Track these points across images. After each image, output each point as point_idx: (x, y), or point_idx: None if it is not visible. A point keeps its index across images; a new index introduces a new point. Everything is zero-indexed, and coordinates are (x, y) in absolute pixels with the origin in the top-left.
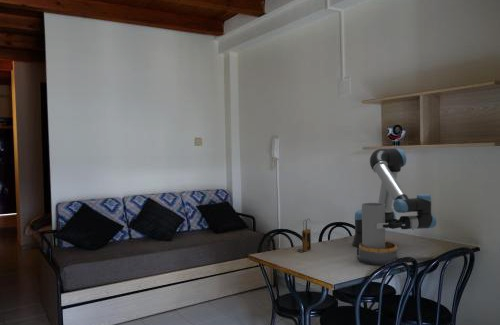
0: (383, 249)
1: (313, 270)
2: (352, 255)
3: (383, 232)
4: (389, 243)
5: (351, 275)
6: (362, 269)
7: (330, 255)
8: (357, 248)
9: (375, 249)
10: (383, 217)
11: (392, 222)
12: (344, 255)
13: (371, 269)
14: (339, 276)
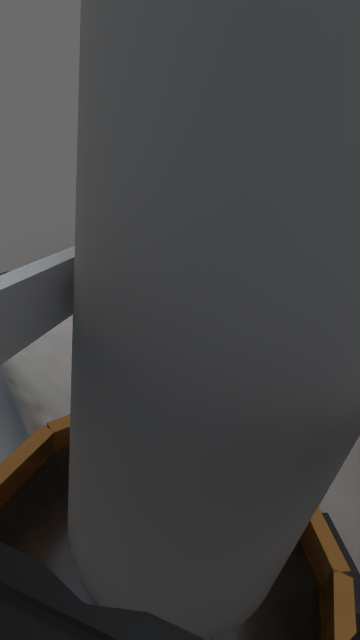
0: (14, 454)
1: None
2: (350, 552)
3: (71, 406)
4: None
5: (45, 336)
6: (67, 398)
7: (357, 450)
8: (323, 514)
9: (68, 418)
10: (78, 199)
11: (97, 628)
12: (353, 507)
13: (33, 423)
14: (68, 317)
